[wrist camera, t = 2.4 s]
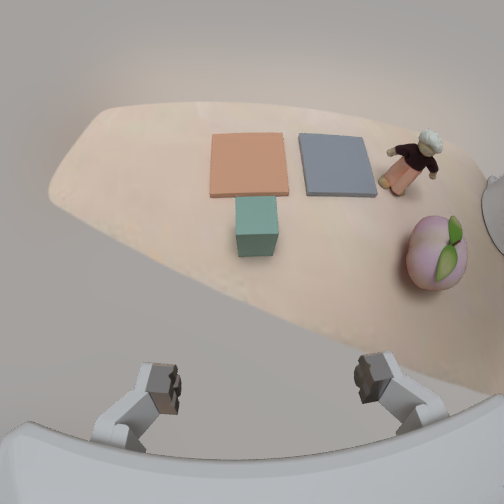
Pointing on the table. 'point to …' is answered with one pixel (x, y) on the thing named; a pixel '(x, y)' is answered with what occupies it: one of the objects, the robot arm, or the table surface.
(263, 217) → the green wooden block
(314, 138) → the slate tile
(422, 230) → the decorative fruit
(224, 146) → the terracotta tile
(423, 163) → the grandmother figurine
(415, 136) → the table surface
